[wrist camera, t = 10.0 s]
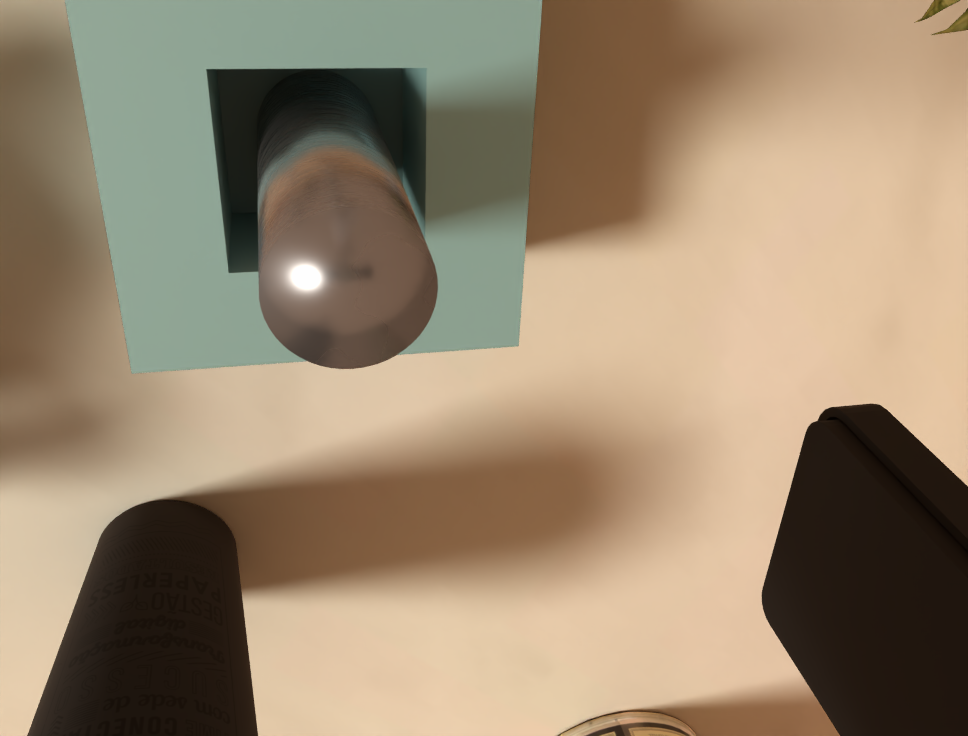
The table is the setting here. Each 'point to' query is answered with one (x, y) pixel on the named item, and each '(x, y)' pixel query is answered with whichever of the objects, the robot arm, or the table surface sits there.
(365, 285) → the pin
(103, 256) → the table surface
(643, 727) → the coffee can
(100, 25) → the bore block
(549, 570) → the table surface
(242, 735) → the drinking cup
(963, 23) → the house plant
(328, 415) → the table surface
